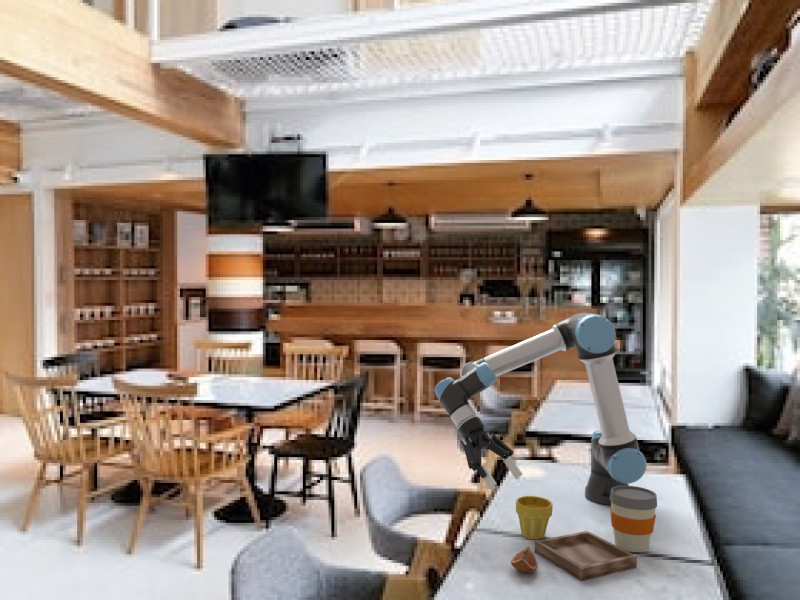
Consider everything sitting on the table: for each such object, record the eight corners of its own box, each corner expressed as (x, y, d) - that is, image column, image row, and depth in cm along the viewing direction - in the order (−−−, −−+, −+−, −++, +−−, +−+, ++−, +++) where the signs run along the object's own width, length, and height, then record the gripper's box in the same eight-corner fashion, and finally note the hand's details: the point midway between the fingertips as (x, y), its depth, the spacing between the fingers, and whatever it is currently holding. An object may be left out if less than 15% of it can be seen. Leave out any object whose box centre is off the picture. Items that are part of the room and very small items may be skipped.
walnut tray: (586, 541, 186) (587, 530, 186) (636, 567, 169) (637, 556, 169) (534, 552, 178) (534, 541, 178) (581, 580, 161) (581, 568, 161)
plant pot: (552, 543, 184) (553, 509, 183) (514, 540, 186) (515, 505, 185) (551, 530, 194) (552, 497, 193) (515, 526, 196) (516, 494, 195)
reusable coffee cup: (632, 558, 175) (634, 502, 175) (598, 540, 186) (600, 488, 186) (665, 550, 181) (667, 496, 181) (630, 533, 192) (632, 483, 192)
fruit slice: (533, 580, 161) (534, 560, 161) (506, 575, 163) (507, 555, 163) (540, 567, 169) (540, 548, 168) (514, 562, 171) (514, 543, 171)
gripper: (484, 423, 216) (521, 479, 206) (435, 435, 198) (473, 497, 188) (498, 410, 212) (537, 466, 203) (449, 421, 194) (489, 483, 185)
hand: (506, 481), depth 195 cm, fingers open, 13 cm apart
